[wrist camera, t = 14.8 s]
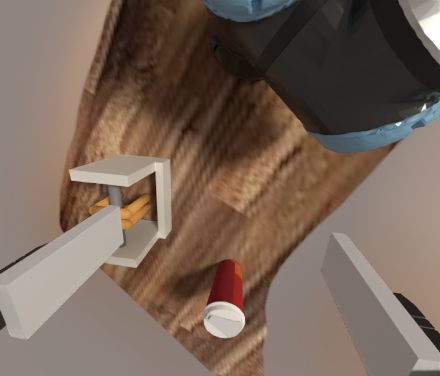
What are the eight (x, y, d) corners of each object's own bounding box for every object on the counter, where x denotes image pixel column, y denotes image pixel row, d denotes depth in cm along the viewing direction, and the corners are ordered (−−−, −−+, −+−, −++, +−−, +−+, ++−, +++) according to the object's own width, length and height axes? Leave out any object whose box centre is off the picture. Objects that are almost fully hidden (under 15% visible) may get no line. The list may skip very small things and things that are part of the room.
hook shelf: (120, 154, 46) (69, 169, 33) (169, 158, 45) (137, 176, 32) (127, 223, 52) (86, 260, 39) (171, 229, 51) (144, 268, 38)
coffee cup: (208, 272, 54) (194, 327, 40) (222, 250, 51) (212, 301, 37) (237, 286, 54) (232, 346, 40) (252, 265, 51) (253, 321, 37)
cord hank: (117, 207, 46) (89, 227, 38) (115, 190, 44) (85, 207, 36) (151, 210, 45) (129, 232, 37) (150, 193, 44) (127, 212, 35)
